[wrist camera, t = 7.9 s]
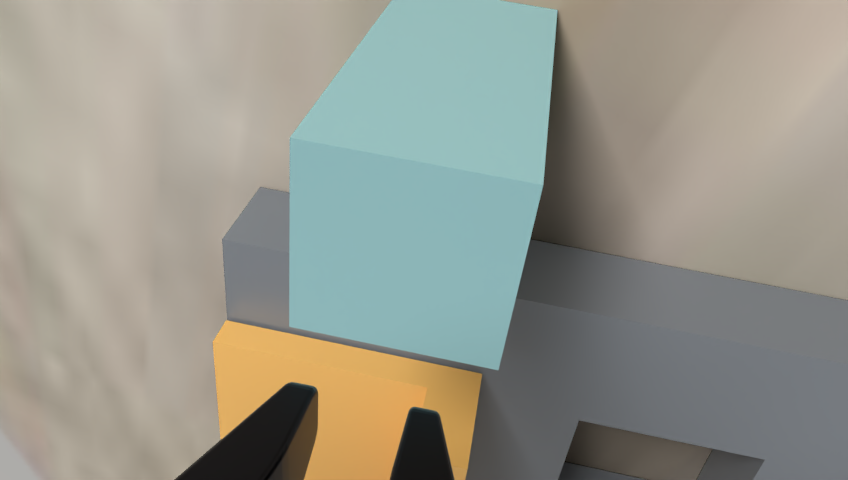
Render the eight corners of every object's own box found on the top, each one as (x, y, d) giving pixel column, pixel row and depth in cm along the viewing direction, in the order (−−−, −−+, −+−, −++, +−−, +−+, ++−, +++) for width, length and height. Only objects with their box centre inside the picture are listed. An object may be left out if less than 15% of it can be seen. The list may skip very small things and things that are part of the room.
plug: (557, 10, 18) (543, 184, 11) (527, 149, 21) (498, 370, 13) (403, -16, 19) (289, 137, 11) (390, 124, 21) (289, 326, 14)
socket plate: (908, 312, 21) (950, 385, 19) (736, 569, 29) (751, 643, 27) (260, 187, 23) (222, 239, 20) (267, 463, 31) (240, 524, 29)
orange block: (482, 373, 21) (467, 469, 19) (447, 528, 26) (431, 623, 23) (226, 320, 22) (174, 404, 19) (236, 480, 27) (195, 567, 24)
